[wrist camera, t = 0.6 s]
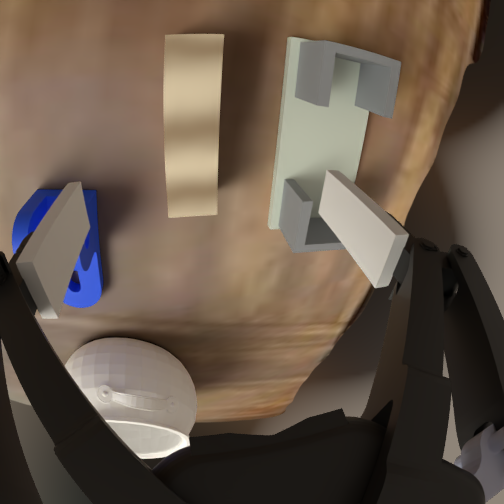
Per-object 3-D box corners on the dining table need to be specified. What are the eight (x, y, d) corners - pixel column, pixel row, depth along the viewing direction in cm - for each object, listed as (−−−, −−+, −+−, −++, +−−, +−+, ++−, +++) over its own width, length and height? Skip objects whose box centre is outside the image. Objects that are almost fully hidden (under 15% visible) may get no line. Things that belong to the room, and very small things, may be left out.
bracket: (37, 188, 29) (7, 226, 22) (96, 189, 31) (76, 229, 24) (58, 296, 39) (44, 341, 32) (106, 299, 41) (98, 346, 34)
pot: (169, 406, 65) (176, 465, 52) (64, 386, 53) (58, 448, 40) (216, 339, 52) (233, 421, 39) (68, 304, 40) (48, 393, 27)
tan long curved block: (168, 40, 24) (165, 35, 19) (216, 39, 25) (224, 34, 20) (169, 193, 34) (168, 217, 30) (211, 190, 35) (217, 214, 31)
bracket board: (287, 37, 26) (314, 33, 20) (371, 55, 28) (409, 60, 22) (267, 224, 40) (283, 257, 34) (340, 221, 42) (364, 250, 36)
